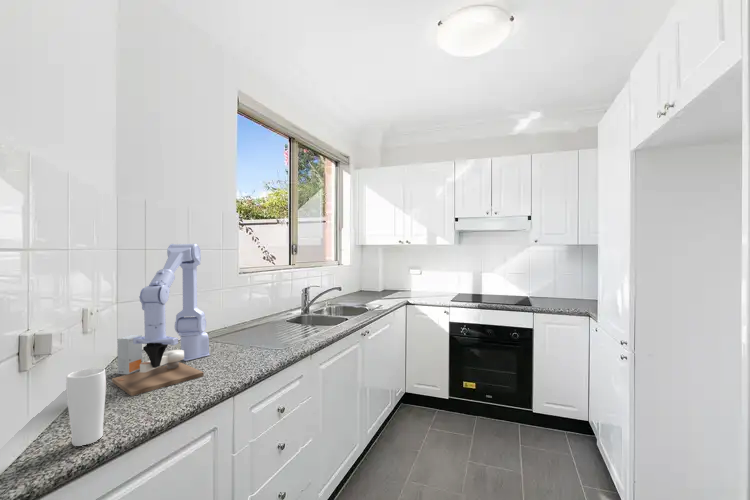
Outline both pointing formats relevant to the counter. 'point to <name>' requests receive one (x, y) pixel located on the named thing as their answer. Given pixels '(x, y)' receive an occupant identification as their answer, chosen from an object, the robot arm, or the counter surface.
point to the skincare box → (129, 355)
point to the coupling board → (156, 378)
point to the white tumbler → (86, 404)
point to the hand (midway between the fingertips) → (156, 366)
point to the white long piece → (164, 359)
